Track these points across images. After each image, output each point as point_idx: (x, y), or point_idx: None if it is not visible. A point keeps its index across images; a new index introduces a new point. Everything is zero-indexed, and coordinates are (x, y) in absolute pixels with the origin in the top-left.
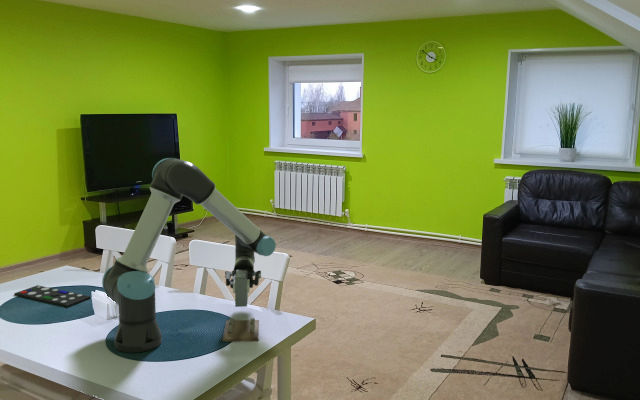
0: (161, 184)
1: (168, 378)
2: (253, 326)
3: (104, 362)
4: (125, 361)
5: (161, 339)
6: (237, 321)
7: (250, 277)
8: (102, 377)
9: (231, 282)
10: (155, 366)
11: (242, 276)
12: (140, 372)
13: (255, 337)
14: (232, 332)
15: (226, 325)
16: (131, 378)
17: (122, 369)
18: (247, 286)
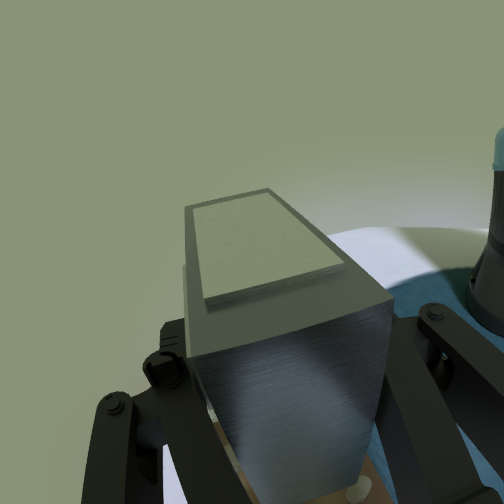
0: None
1: (348, 255)
2: (225, 446)
3: (479, 251)
4: (458, 261)
5: (483, 319)
6: None
7: (171, 349)
8: (437, 233)
9: None
10: (399, 267)
11: (220, 205)
12: (404, 252)
13: (217, 426)
14: None
15: (380, 489)
16: (400, 241)
17: (436, 249)
18: None
